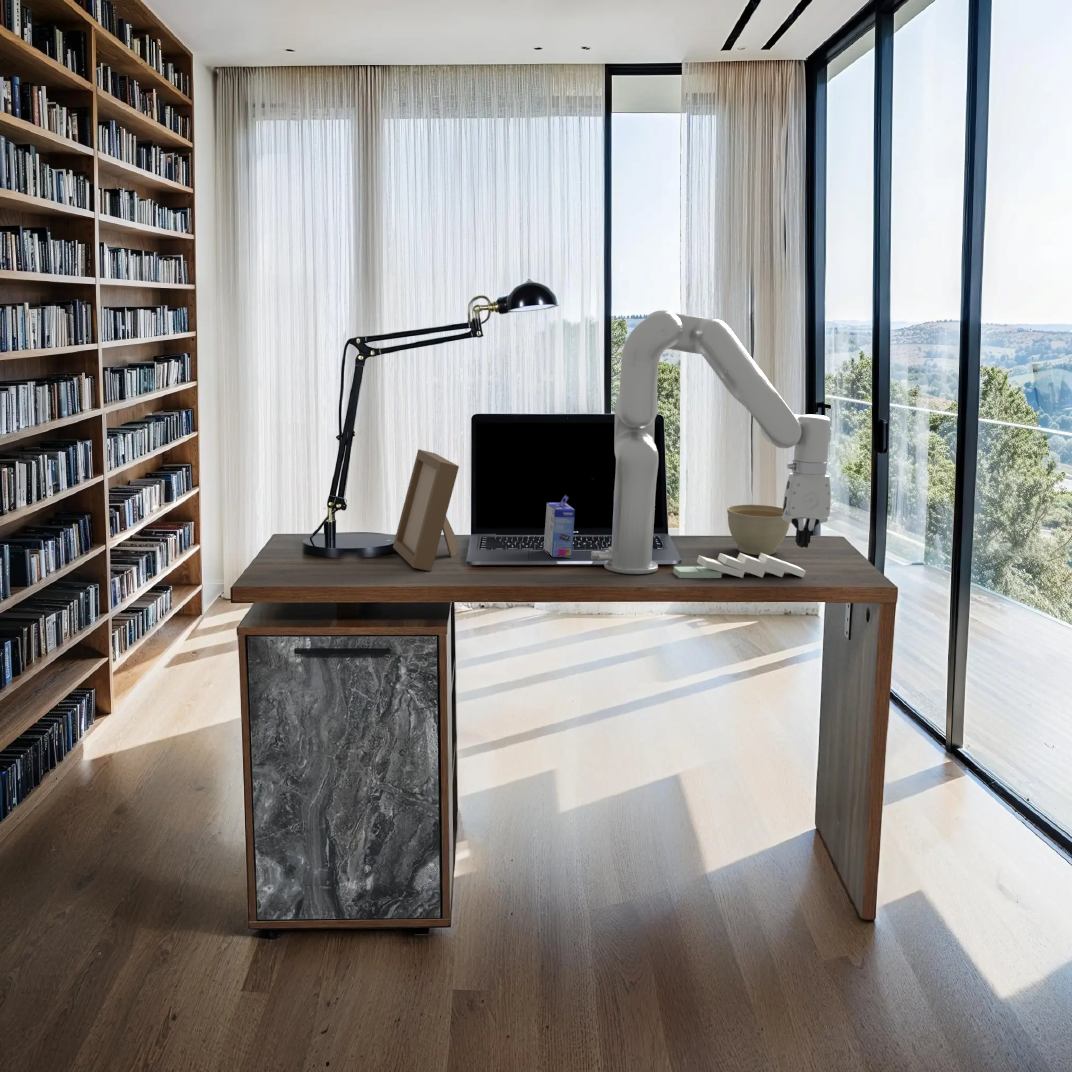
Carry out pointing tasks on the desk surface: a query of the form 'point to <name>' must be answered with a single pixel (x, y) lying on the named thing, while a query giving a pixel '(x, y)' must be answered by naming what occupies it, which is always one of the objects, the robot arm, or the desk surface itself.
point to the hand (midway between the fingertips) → (802, 546)
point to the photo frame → (426, 511)
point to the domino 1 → (696, 572)
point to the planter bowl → (757, 528)
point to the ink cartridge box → (559, 528)
